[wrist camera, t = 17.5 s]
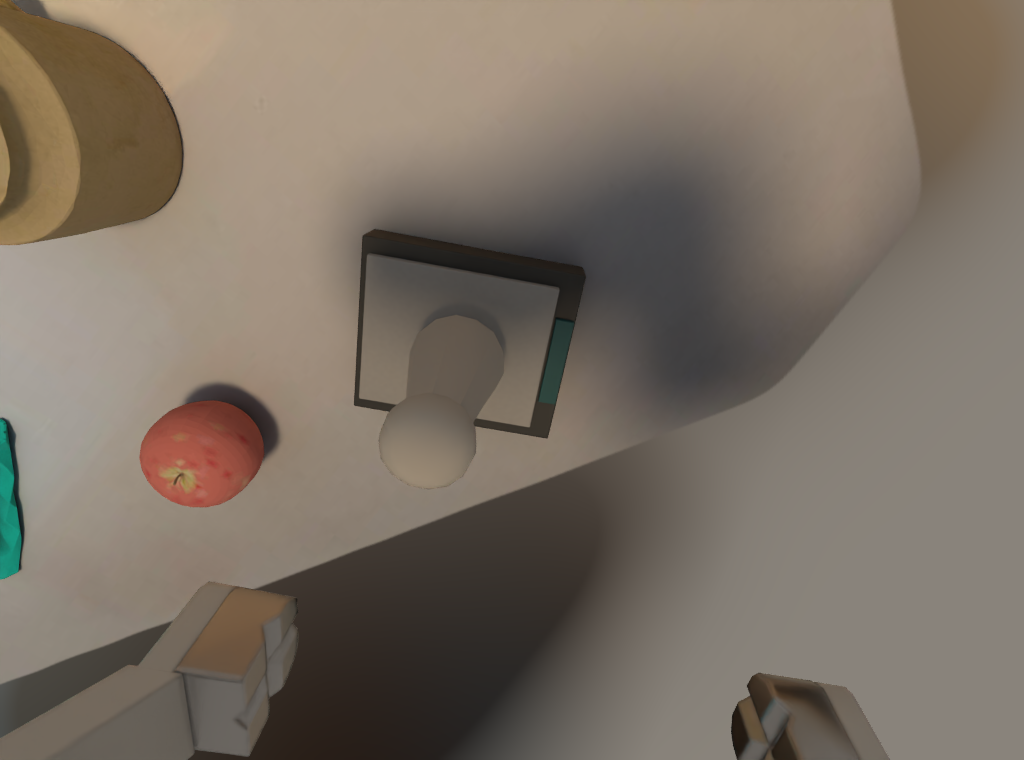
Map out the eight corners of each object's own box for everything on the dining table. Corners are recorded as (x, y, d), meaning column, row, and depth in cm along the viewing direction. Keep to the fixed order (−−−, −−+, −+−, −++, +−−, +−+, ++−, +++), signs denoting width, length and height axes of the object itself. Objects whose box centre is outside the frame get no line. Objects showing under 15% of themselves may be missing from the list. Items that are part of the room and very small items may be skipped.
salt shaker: (495, 296, 32) (472, 385, 21) (515, 378, 35) (505, 500, 23) (406, 315, 33) (335, 411, 21) (431, 394, 35) (380, 520, 24)
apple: (235, 366, 39) (166, 417, 31) (300, 439, 41) (250, 503, 34) (166, 410, 40) (85, 469, 33) (232, 478, 43) (171, 547, 36)
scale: (582, 266, 35) (587, 278, 32) (546, 422, 40) (548, 443, 37) (373, 228, 34) (359, 236, 31) (364, 390, 39) (350, 409, 36)
